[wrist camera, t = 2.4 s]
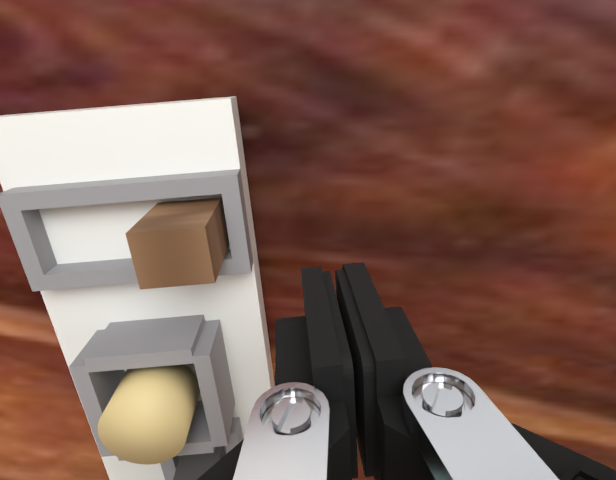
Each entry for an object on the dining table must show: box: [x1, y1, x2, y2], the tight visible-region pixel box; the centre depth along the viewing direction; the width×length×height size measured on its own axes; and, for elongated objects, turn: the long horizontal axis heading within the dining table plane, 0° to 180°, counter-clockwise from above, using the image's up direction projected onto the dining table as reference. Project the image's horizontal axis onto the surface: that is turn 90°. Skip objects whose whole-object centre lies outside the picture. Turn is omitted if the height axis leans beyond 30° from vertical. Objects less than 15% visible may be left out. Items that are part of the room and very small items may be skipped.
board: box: [0, 96, 275, 480], centre depth 23 cm, size 11×33×6 cm, turn 4°
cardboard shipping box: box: [125, 197, 229, 289], centre depth 18 cm, size 3×2×4 cm
